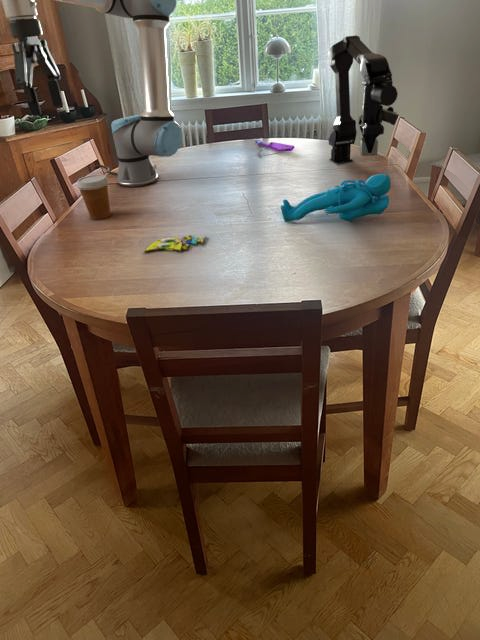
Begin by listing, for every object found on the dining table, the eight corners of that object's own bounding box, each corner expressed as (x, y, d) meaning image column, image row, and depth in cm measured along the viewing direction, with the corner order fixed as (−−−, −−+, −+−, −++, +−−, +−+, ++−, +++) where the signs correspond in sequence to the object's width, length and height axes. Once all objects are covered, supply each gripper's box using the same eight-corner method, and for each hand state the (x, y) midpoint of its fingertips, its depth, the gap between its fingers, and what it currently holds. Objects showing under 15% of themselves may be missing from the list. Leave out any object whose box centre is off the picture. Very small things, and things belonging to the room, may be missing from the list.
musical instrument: (281, 159, 196) (302, 141, 209) (280, 154, 195) (302, 136, 207) (233, 159, 209) (255, 142, 221) (232, 155, 208) (255, 137, 220)
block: (377, 155, 162) (378, 140, 159) (361, 156, 162) (362, 141, 160) (375, 151, 166) (376, 137, 163) (359, 152, 167) (360, 137, 164)
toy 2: (284, 188, 143) (387, 162, 133) (293, 221, 149) (393, 198, 138) (276, 209, 130) (390, 181, 120) (286, 244, 135) (397, 221, 125)
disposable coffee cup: (79, 220, 152) (69, 182, 146) (97, 209, 159) (88, 173, 153) (104, 222, 149) (94, 184, 142) (121, 211, 156) (113, 174, 150)
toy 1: (199, 248, 125) (143, 249, 127) (199, 251, 125) (144, 252, 127) (206, 233, 133) (154, 234, 135) (206, 236, 133) (154, 237, 136)
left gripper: (11, 18, 109) (40, 118, 120) (58, 16, 129) (78, 101, 141) (-19, 21, 110) (12, 120, 121) (32, 18, 130) (54, 103, 142)
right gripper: (403, 105, 146) (397, 157, 155) (393, 95, 162) (389, 142, 170) (365, 107, 148) (362, 158, 156) (359, 97, 163) (357, 144, 172)
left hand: (48, 110), depth 131 cm, fingers open, 13 cm apart
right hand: (368, 150), depth 164 cm, fingers closed on block, 5 cm apart
